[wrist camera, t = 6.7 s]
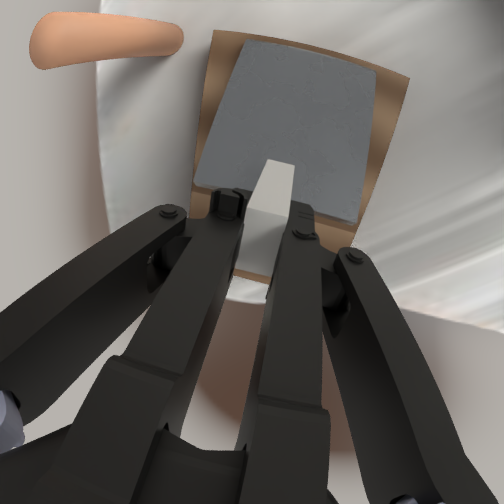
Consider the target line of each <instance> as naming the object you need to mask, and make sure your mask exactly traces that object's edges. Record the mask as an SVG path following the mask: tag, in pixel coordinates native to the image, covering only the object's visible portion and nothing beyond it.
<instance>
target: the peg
mask: <svg viewBox="0 0 504 504" xmlns="http://www.w3.org/2000/svg"><path fill="white" fill-rule="evenodd" d="M183 39H184V36H183V32H182V30H181V28H180V27H179V26H177V25H175V24H172V23H167V22H161V21H156V20H150V19H144V18H137V17H130V16H121V15H112V14H101V13H85V12H51V13H48V14H47V15H45V16H44V17H43V18H41V20H40V21H39V22H38V23H37V24H36V26H35V28H34V30H33V33H32V35H31V38H30V44H29V53H30V58H31V60H32V62H33V64H34V65H35V66H36V67H37V68H39V69H42V70H46V69H51V68H56V67H61V66H67V65H72V64H78V63H85V62H91V61H100V60H108V59H118V58H130V57H147V56H169V55H172V54H174V53H175V52H177V51H178V50H179V49H180V47H181V45H182V43H183Z"/></svg>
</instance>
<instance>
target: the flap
mask: <svg viewBox="0 0 504 504" xmlns="http://www.w3.org/2000/svg"><path fill="white" fill-rule="evenodd" d="M375 86H376V70H373V69H370V68H367V67H364V66H361V65H358V64H355V63H352V62H349V61H346V60H342V59H339V58H336V57H332V56H328V55H325V54H321V53H317V52H313V51H309V50H305V49H301V48H296V47H291V46H287V45H282V44H276V43H271V42H265V41H259V40H253V39H246V41H245V43H244V46H243V48H242V50H241V53H240V55H239V57H238V60H237V62H236V64H235V67H234V69H233V72H232V74H231V77H230V79H229V82H228V84H227V87H226V89H225V92H224V94H223V97H222V100H221V102H220V105H219V108H218V110H217V113H216V116H215V118H214V121H213V124H212V126H211V129H210V132H209V135H208V138H207V141H206V143H205V146H204V149H203V152H202V155H201V158H200V161H199V164H198V167H197V170H196V173H195V176H194V179H193V182H194V183H195V185H196V186H199V187H203V188H208V189H212V190H215V189H218V188H230V189H233V188H240V189H245V190H249V191H253V192H254V189H255V187H256V185H257V182H258V180H259V178H260V176H261V173H262V171H263V169H264V167H265V164H266V162H267V160H268V159H270V160H274V161H278V162H283V163H287V164H291V165H295V167H294V176H293V185H292V193H291V200H294V201H298V202H302V203H306V204H309V205H310V206H311V207H312V208H313V210H314V215H315V216H319V217H323V218H326V219H330V220H333V221H337V222H340V223H344V224H347V225H351V226H352V225H354V224H356V223H357V219H358V214H359V208H360V203H361V197H362V191H363V185H364V179H365V172H366V166H367V159H368V152H369V144H370V136H371V128H372V119H373V109H374V98H375Z"/></svg>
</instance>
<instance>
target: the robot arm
mask: <svg viewBox="0 0 504 504" xmlns="http://www.w3.org/2000/svg"><path fill="white" fill-rule="evenodd" d="M294 167H295V165H291V164H287V163H283V162H278V161H274V160H270V159H268V160H267V162H266V164H265V167H264V169H263V171H262V173H261V176H260V178H259V180H258V182H257V185H256V187H255V189H254V192H253V191H249V190H245V189H240V188H233V189H230V188H218V189H215V190H213V191H212V192H211V199H210V207H209V212H208V214H207V215H206V217H205V218H201V219H192V218H186V216H187V212H186V211H185V210H184V209H183V208H181V207H179V206H175V205H172V204H165V205H160V206H157V207H155V208H153V209H151V210H150V211H148V212H146V213H144V214H143V215H141V216H139V217H138V218H136V219H134V220H133V221H131V222H130V223H128V224H126V225H125V226H123V227H121V228H120V229H118V230H117V231H115V232H113V233H112V234H110V235H109V236H107V237H106V238H104V239H103V240H101V241H99V242H98V243H96V244H95V245H93V246H92V247H90V248H89V249H87V250H86V251H84V252H83V253H81V254H80V255H78V256H77V257H75V258H74V259H72V260H71V261H69V262H68V263H66V264H65V265H63V266H62V267H61V268H60V269H58V270H56V271H55V272H54V273H52V274H51V275H49V276H48V277H47V278H45V279H44V280H43V281H41V282H40V283H38V284H37V285H36V286H34V287H33V288H32V289H30V290H29V291H28V292H26V293H25V294H24V295H22V296H21V297H20V298H18V299H17V300H16V301H14V302H13V303H12V304H11V305H9V306H8V307H7V308H6V309H4V310H3V311H2V312H1V313H0V504H339V503H338V502H337V501H336V499H335V498H334V496H333V495H332V494H331V492H330V491H329V490H328V489H327V484H328V470H329V453H330V452H329V451H330V429H331V428H330V427H331V423H330V414H329V412H328V410H325V409H323V408H322V405H321V392H322V331H323V335H324V338H325V341H326V345H327V348H328V351H329V355H330V358H331V362H332V365H333V369H334V372H335V376H336V379H337V383H338V386H339V390H340V394H341V397H342V401H343V405H344V408H345V412H346V416H347V420H348V424H349V428H350V432H351V436H352V439H353V443H354V447H355V451H356V456H357V459H358V463H359V468H360V472H361V477H362V481H363V485H364V488H365V492H366V495H367V498H368V501H369V503H370V504H499V503H498V501H497V499H496V498H495V496H494V495H493V493H492V492H491V490H490V489H489V488H488V486H487V485H486V483H485V482H484V480H483V479H482V477H481V476H480V475H479V473H478V472H477V470H476V469H475V468H474V466H473V465H472V463H471V462H470V461H469V459H468V458H467V456H466V455H465V453H464V450H463V447H462V445H461V442H460V439H459V437H458V434H457V431H456V429H455V426H454V424H453V421H452V419H451V417H450V414H449V412H448V410H447V407H446V404H445V402H444V400H443V397H442V395H441V393H440V390H439V388H438V386H437V384H436V382H435V380H434V377H433V375H432V373H431V371H430V369H429V366H428V364H427V362H426V360H425V358H424V356H423V354H422V352H421V350H420V348H419V346H418V344H417V342H416V340H415V338H414V336H413V334H412V332H411V331H410V328H409V326H408V324H407V323H406V321H405V319H404V317H403V315H402V313H401V311H400V310H399V308H398V306H397V304H396V302H395V300H394V299H393V297H392V295H391V293H390V292H389V290H388V288H387V286H386V285H385V283H384V281H383V279H382V278H381V276H380V274H379V273H378V271H377V269H376V267H375V266H374V264H373V262H372V261H371V259H370V258H369V257H368V256H367V255H366V254H365V253H363V252H362V251H361V250H358V249H357V248H352V247H342V248H340V249H339V251H338V253H337V254H336V253H334V252H332V251H330V250H328V249H326V248H324V247H323V246H321V245H320V238H319V236H318V234H317V233H316V232H315V221H314V220H315V219H314V210H313V208H312V207H311V206H310V205H309V204H306V203H302V202H298V201H294V200H291V193H292V185H293V176H294ZM150 256H151V258H150ZM235 264H236V265H235ZM234 268H236V269H240V270H244V271H248V272H252V273H256V274H260V275H264V276H268V277H271V281H270V284H269V288H268V291H267V295H266V298H265V299H267V300H266V306H265V310H264V315H263V320H262V325H261V331H260V335H259V340H258V345H257V350H256V355H255V360H254V365H253V369H252V374H251V379H250V384H249V389H248V393H247V398H246V403H245V407H244V412H243V417H242V421H241V425H240V430H239V434H238V439H237V442H236V446H235V449H234V451H214V450H211V451H210V450H202V449H199V448H196V447H195V446H193V445H191V444H190V443H188V442H186V441H184V440H182V439H181V438H180V435H181V429H182V425H183V422H184V419H185V416H186V413H187V410H188V407H189V404H190V401H191V398H192V395H193V391H194V389H195V385H196V383H197V380H198V377H199V374H200V371H201V368H202V365H203V362H204V359H205V356H206V353H207V350H208V347H209V344H210V341H211V338H212V335H213V333H214V329H215V326H216V324H217V320H218V318H219V315H220V312H221V309H222V306H223V303H224V300H225V297H226V295H227V292H228V289H229V286H230V283H231V280H232V277H233V273H234ZM150 305H151V306H150ZM149 306H150V308H149V309H148V311H147V313H146V314H145V316H144V318H143V320H142V321H141V323H140V325H139V327H138V328H137V330H136V332H135V334H134V335H133V337H132V339H131V341H130V343H129V345H128V346H127V348H126V350H125V351H124V353H123V354H122V355H121V356H117V355H113V356H111V357H110V358H109V359H108V360H107V361H106V363H105V364H104V365H103V367H102V369H101V371H100V373H99V374H98V376H97V378H96V380H95V382H94V384H93V385H92V387H91V389H90V391H89V393H88V395H87V396H86V398H85V400H84V402H83V404H82V406H81V408H80V410H79V412H78V414H77V416H76V417H75V419H74V421H73V423H72V424H70V425H67V426H66V427H63V428H61V429H59V430H56V431H54V432H52V433H50V434H48V435H45V436H43V437H41V438H38V439H36V440H34V441H31V442H29V443H27V444H24V445H23V443H24V441H25V435H24V432H23V426H25V425H26V424H28V423H30V422H31V421H33V420H34V419H36V418H37V417H38V416H40V415H41V414H42V413H44V412H45V411H46V410H47V409H48V408H49V407H50V406H51V405H52V404H53V403H54V402H55V401H56V400H57V399H58V398H59V397H60V396H61V395H62V394H63V393H64V392H65V391H66V390H67V389H68V387H69V386H70V385H71V384H72V383H73V382H74V381H75V380H76V379H77V378H78V377H79V376H80V375H81V374H82V373H83V372H84V371H85V370H86V369H87V368H88V367H89V366H90V365H91V364H92V363H93V362H94V361H95V360H96V358H98V357H99V356H100V355H101V353H103V352H104V351H105V350H106V349H107V347H109V346H110V345H111V344H112V343H113V342H114V341H115V340H116V339H117V338H118V337H119V336H120V335H121V334H122V333H123V332H124V331H125V330H126V329H127V328H128V327H129V326H130V325H131V324H132V323H133V322H134V321H135V320H136V319H137V318H138V317H139V316H140V315H141V314H142V313H143V312H144V311H145V310H146V309H147V308H148V307H149ZM13 447H17V448H14V449H12V448H13ZM11 449H12V450H11Z"/></svg>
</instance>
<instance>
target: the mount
mask: <svg viewBox="0 0 504 504" xmlns="http://www.w3.org/2000/svg"><path fill="white" fill-rule="evenodd" d="M246 39H253V40H259V41H265V42H271V43H276V44H282V45H287V46H291V47H296V48H301V49H305V50H309V51H313V52H317V53H321V54H325V55H328V56H332V57H336V58H339V59H342V60H346V61H349V62H352V63H355V64H358V65H361V66H364V67H367V68H370V69H373V70H376V86H375V98H374V109H373V119H372V128H371V136H370V144H369V152H368V159H367V166H366V172H365V179H364V185H363V191H362V197H361V203H360V208H359V214H358V219H357V223H356V224H354V225H352V226H351V225H347V224H344V223H340V222H337V221H333V220H330V219H326V218H323V217H319V216H315V215H314V219H315V220H314V221H315V232H316V233H317V234H318V236H319V238H320V245H321V246H323V247H324V248H326V249H328V250H330V251H332V252H334V253H336V254H337V253H338V251H339V249H340V248H342V247H350V246H351V243H352V241H353V239H354V236H355V234H356V232H357V229H358V227H359V224H360V222H361V219H362V217H363V215H364V212H365V210H366V207H367V205H368V202H369V199H370V197H371V194H372V192H373V189H374V186H375V184H376V181H377V178H378V176H379V173H380V170H381V168H382V165H383V162H384V159H385V156H386V153H387V151H388V148H389V145H390V142H391V139H392V136H393V133H394V130H395V127H396V124H397V120H398V117H399V114H400V111H401V108H402V104H403V101H404V98H405V94H406V91H407V87H408V84H409V80H410V78H408V77H406V76H403V75H401V74H398V73H396V72H393V71H391V70H388V69H386V68H383V67H380V66H377V65H375V64H372V63H369V62H366V61H363V60H360V59H357V58H354V57H351V56H347V55H344V54H341V53H337V52H334V51H330V50H327V49H323V48H319V47H315V46H311V45H307V44H302V43H298V42H293V41H288V40H283V39H278V38H273V37H267V36H261V35H254V34H247V33H240V32H231V31H222V30H214V31H213V36H212V42H211V47H210V53H209V59H208V65H207V71H206V77H205V83H204V90H203V97H202V104H201V111H200V118H199V126H198V134H197V142H196V151H195V160H194V169H193V179H194V176H195V173H196V170H197V167H198V164H199V161H200V158H201V155H202V152H203V149H204V146H205V143H206V141H207V138H208V135H209V132H210V129H211V126H212V124H213V121H214V118H215V116H216V113H217V110H218V108H219V105H220V102H221V100H222V97H223V94H224V92H225V89H226V87H227V84H228V82H229V79H230V77H231V74H232V72H233V69H234V67H235V64H236V62H237V60H238V57H239V55H240V53H241V50H242V48H243V46H244V43H245V41H246ZM193 179H192V190H191V201H190V213H189V218H192V219H201V218H205V217H206V215H207V214H208V212H209V207H210V199H211V192H212V191H213V190H212V189H208V188H203V187H199V186H196V185H195V183H194V182H193ZM235 265H236V264H235ZM233 275H234V276H238V277H242V278H246V279H249V280H253V281H257V282H261V283H265V284H270V281H271V277H268V276H264V275H260V274H256V273H252V272H248V271H244V270H240V269H236V268H234V273H233Z"/></svg>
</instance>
